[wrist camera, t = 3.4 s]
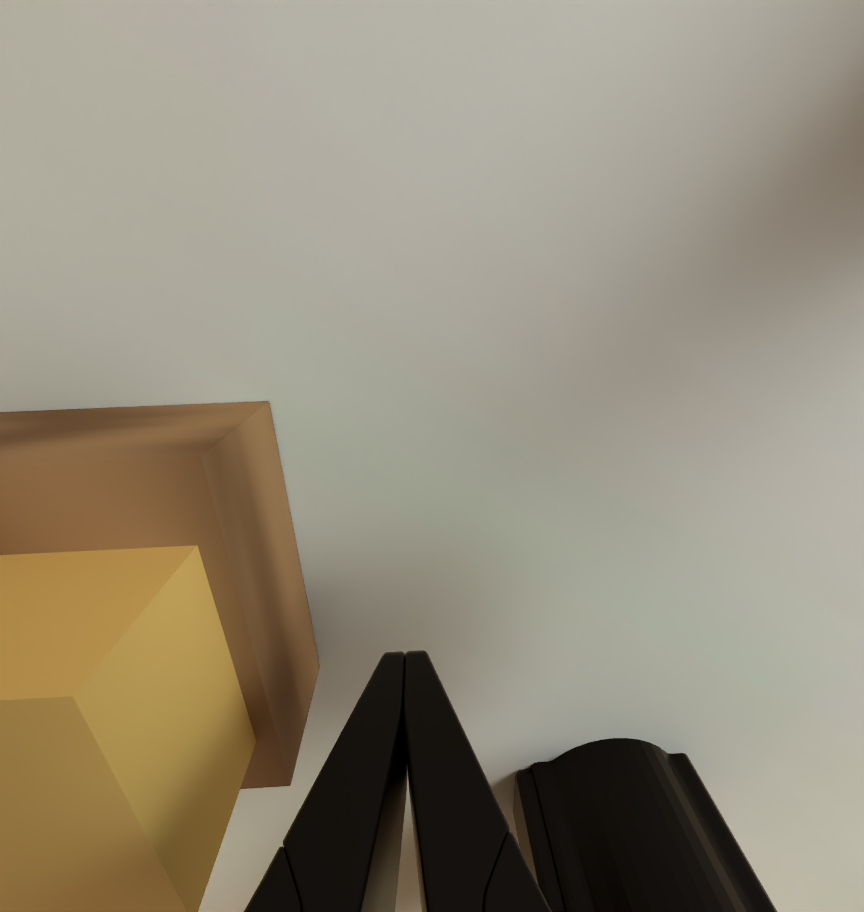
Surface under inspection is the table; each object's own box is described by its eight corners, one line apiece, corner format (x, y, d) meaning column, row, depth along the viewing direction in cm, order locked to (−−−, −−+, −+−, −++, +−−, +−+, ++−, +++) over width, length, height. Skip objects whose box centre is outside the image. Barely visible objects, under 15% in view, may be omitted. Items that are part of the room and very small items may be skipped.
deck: (268, 400, 10) (201, 456, 7) (319, 666, 14) (290, 785, 10) (-195, 420, 10) (-490, 487, 7) (-22, 685, 13) (-162, 814, 10)
